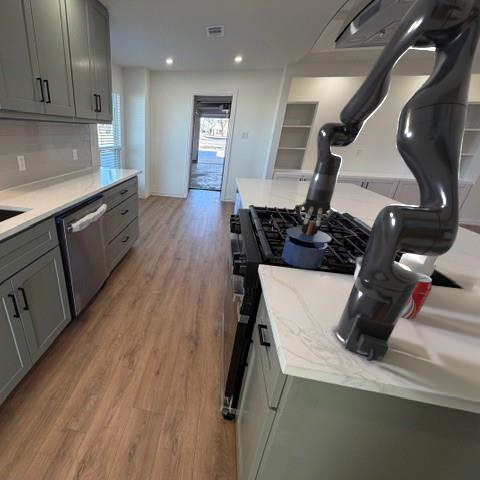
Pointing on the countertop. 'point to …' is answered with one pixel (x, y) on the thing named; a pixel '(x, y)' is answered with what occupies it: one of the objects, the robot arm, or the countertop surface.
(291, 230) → the pot lid
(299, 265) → the pot
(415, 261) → the cylinder with rectangular tab
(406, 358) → the countertop surface
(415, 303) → the soda can
